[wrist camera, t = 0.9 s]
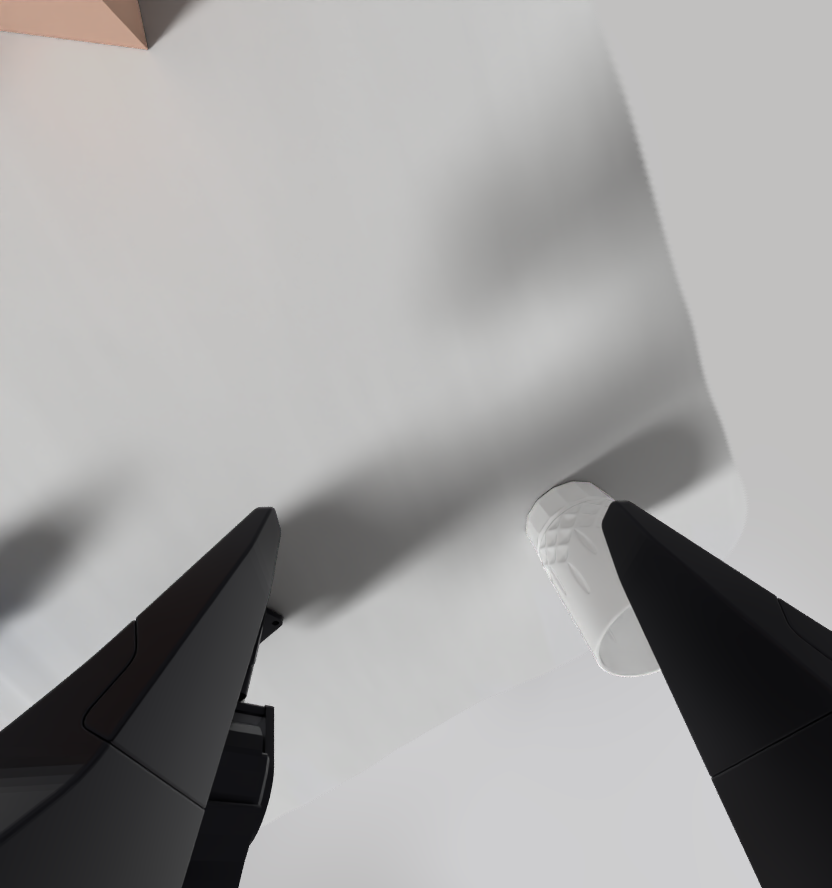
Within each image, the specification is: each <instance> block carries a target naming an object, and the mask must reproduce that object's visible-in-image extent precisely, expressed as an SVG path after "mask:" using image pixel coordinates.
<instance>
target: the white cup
mask: <svg viewBox="0 0 832 888" xmlns="http://www.w3.org/2000/svg"><path fill="white" fill-rule="evenodd" d="M613 501H615V500H614V499H613V498H612V497H610V496H609V495H608V494H607V493H605V492H604V491H603V490H601V489H600V488H598V487H597V486H595V485H594V484H592V483H591V482H576V481H571V482H568V483H566V484H563V485H560V486H557V487H554V488H552V489H551V490H550V491H548V492H547V493H546V494H545V495H543V496H542V497H541V498H539V499H538V500H537V501H536V503H535V504H534V506H533V508H532V509H531V511H530V513H529V514H528V516H527V523H526V534H527V536H528V538H529V540H530V541H531V543H532V545H533V547H534V549H535V550H536V552H537V554H538V556H539V558H540V560H541V563H542V566H543V568H544V570H545V571H546V573H547V575H548V577H549V579H550V581H551V583H552V584H553V586H554V588H555V589H556V591H557V593H558V595H559V597H560V599H561V601H562V603H563V604H564V606H565V608H566V609H567V611H568V613H569V614H570V616H571V618H572V620H573V621H574V623H575V625H576V626H577V628H578V630H579V632H580V634H581V635H582V637H583V639H584V641H585V642H586V644H587V646H588V648H589V649H590V651H591V653H592V655H593V656H594V658H595V660H596V661H597V663H598V665H599V666H600V667H601V669H603V670H604V671H605V672H607V673H609V674H612V675H615V676H620V677H637V676H643V675H649V674H652V673H656V672H659V671H661V669H660V667H659V665H658V663H657V660H656V658H655V656H654V654H653V652H652V650H651V648H650V645H649V643H648V641H647V639H646V637H645V635H644V632H643V630H642V628H641V626H640V624H639V622H638V620H637V617H636V615H635V613H634V611H633V609H632V607H631V605H630V602H629V600H628V598H627V596H626V594H625V592H624V589H623V587H622V585H621V582H620V580H619V577H618V575H617V572H616V569H615V566H614V563H613V560H612V558H611V555H610V552H609V549H608V546H607V543H606V540H605V537H604V534H603V531H602V527H601V524H602V520H603V518H604V516H605V513H606V511H607V509H608V507H609V505H610V503H611V502H613Z"/></svg>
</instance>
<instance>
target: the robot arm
mask: <svg viewBox="0 0 832 888" xmlns="http://www.w3.org/2000/svg"><path fill="white" fill-rule="evenodd" d="M601 527H602V531H603V534H604V537H605V540H606V543H607V546H608V549H609V552H610V555H611V558H612V560H613V563H614V566H615V569H616V572H617V575H618V577H619V580H620V582H621V585H622V587H623V589H624V592H625V594H626V596H627V598H628V600H629V602H630V605H631V607H632V609H633V611H634V613H635V615H636V617H637V620H638V622H639V624H640V626H641V628H642V630H643V632H644V635H645V637H646V639H647V641H648V643H649V645H650V648H651V650H652V652H653V654H654V656H655V658H656V660H657V663H658V665H659V667H660V669H661V671H662V673H663V675H664V678H665V680H666V682H667V684H668V686H669V688H670V690H671V693H672V694H673V697H674V699H675V701H676V704H677V705H678V708H679V710H680V712H681V714H682V716H683V718H684V721H685V723H686V725H687V727H688V729H689V731H690V734H691V736H692V738H693V740H694V742H695V744H696V747H697V749H698V751H699V753H700V755H701V757H702V759H703V762H704V764H705V766H706V768H707V770H708V772H709V775H710V776H711V777H712V778H711V779H712V781H713V783H714V786H715V788H716V790H717V792H718V794H719V797H720V799H721V801H722V803H723V805H724V807H725V809H726V812H727V814H728V816H729V818H730V820H731V822H732V825H733V827H734V829H735V831H736V833H737V835H738V837H739V839H740V842H741V844H742V846H743V848H744V850H745V853H746V855H747V857H748V859H749V861H750V863H751V865H752V868H753V870H754V872H755V874H756V876H757V878H758V880H759V883H760V885H761V887H762V888H832V631H830V630H829V629H827V628H826V627H824V626H822V625H821V624H819V623H818V622H816V621H814V620H813V619H811V618H810V617H808V616H806V615H805V614H803V613H802V612H800V611H799V610H797V609H795V608H794V607H792V606H791V605H789V604H788V603H786V602H785V601H783V600H782V599H779V598H777V597H776V596H775V595H774V594H772V593H771V592H769V591H768V590H766V589H764V588H763V587H761V586H760V585H758V584H757V583H755V582H754V581H752V580H750V579H749V578H747V577H746V576H744V575H743V574H741V573H740V572H738V571H737V570H735V569H734V568H732V567H730V566H729V565H727V564H726V563H724V562H723V561H721V560H720V559H718V558H717V557H715V556H713V555H712V554H710V553H709V552H707V551H706V550H704V549H703V548H701V547H700V546H698V545H696V544H695V543H693V542H692V541H690V540H689V539H687V538H686V537H684V536H683V535H681V534H679V533H678V532H676V531H675V530H673V529H672V528H670V527H669V526H667V525H666V524H664V523H662V522H661V521H659V520H658V519H656V518H655V517H653V516H652V515H650V514H649V513H647V512H645V511H644V510H642V509H641V508H639V507H638V506H636V505H635V504H633V503H631V502H630V501H613V502H611V503H610V505H609V507H608V509H607V511H606V513H605V516H604V518H603V520H602V524H601ZM280 537H281V529H280V525H279V522H278V518H277V515H276V511H275V509H274V508H273V507H258V508H256V509H254V510H253V511H252V512H251V513H250V514H249V515H248V516H247V517H246V518H245V519H243V520H242V521H241V522H240V523H239V524H238V525H237V526H236V527H235V528H234V529H232V530H231V531H230V532H229V533H228V534H227V535H226V536H225V537H224V538H223V539H222V540H220V541H219V542H218V543H217V544H216V545H215V546H214V547H213V548H212V549H211V550H210V551H208V552H207V553H206V554H205V555H204V556H203V557H202V558H201V559H200V560H199V561H197V562H196V563H195V564H194V565H193V566H192V567H191V568H190V569H189V570H188V571H187V572H185V573H184V574H183V575H182V576H181V577H180V578H179V579H178V580H177V581H176V582H175V583H173V584H172V585H171V586H170V587H169V588H168V589H167V590H166V591H165V592H164V593H162V594H161V595H160V596H159V597H158V598H157V599H156V600H155V601H154V602H153V603H152V604H150V605H149V606H148V607H147V608H146V609H145V610H144V611H143V612H142V613H141V614H140V615H138V616H137V618H136V621H135V620H133V621H132V622H131V623H129V624H128V625H127V626H126V627H125V628H124V629H123V630H122V631H121V632H120V633H119V634H117V635H116V636H115V637H114V638H113V639H112V640H111V641H110V642H108V643H107V644H106V645H105V646H104V647H103V648H102V649H101V650H99V651H98V652H97V653H96V654H95V655H94V656H93V657H91V658H90V659H89V660H88V661H87V662H85V663H84V664H83V665H82V666H81V667H79V668H78V669H77V670H76V671H75V672H73V673H72V674H71V675H70V676H69V677H67V678H66V679H65V680H64V681H63V682H61V683H60V684H59V685H58V686H56V687H55V688H54V689H53V690H51V691H50V692H49V693H48V694H46V695H45V696H44V697H43V698H42V699H40V700H39V701H38V702H37V703H35V704H34V705H33V706H32V707H30V708H29V709H28V710H27V711H25V712H24V713H23V714H22V715H20V716H19V717H18V718H17V719H15V720H14V721H13V722H12V723H10V724H9V725H8V726H7V727H5V728H4V729H3V730H2V731H0V888H238V887H239V882H240V878H241V874H242V870H243V866H244V862H245V858H246V855H247V852H248V848H249V845H250V844H251V843H252V841H253V840H254V838H255V836H256V834H257V832H258V830H259V828H260V826H261V823H262V821H263V818H264V815H265V812H266V809H267V805H268V802H269V798H270V793H271V789H272V783H273V776H274V707H273V706H268V705H265V706H259V705H254V704H249V703H244V701H245V698H246V696H247V692H248V688H249V684H250V679H251V675H252V671H253V666H254V664H255V661H256V657H257V652H258V648H259V644H260V643H261V642H262V641H264V640H265V639H266V638H267V637H268V636H270V635H271V634H272V633H273V632H274V631H276V630H277V629H278V628H279V627H280V626H281V625H282V623H283V616H282V615H280V614H278V613H276V612H274V611H272V610H270V609H268V608H266V606H267V602H268V599H269V595H270V591H271V586H272V581H273V576H274V570H275V564H276V559H277V553H278V548H279V542H280Z"/></svg>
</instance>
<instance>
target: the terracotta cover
mask: <svg viewBox="0 0 832 888" xmlns="http://www.w3.org/2000/svg"><path fill="white" fill-rule="evenodd" d="M0 31H7V32H14V33H22V34H30V35H38V36H45V37H53V38H61V39H69V40H76V41H84V42H92V43H100V44H107V45H115V46H123V47H131V48H138V49H146V50H148V47H147V42H146V37H145V32H144V28H143V23H142V18H141V13H140V9H139V4H138V0H0Z"/></svg>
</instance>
